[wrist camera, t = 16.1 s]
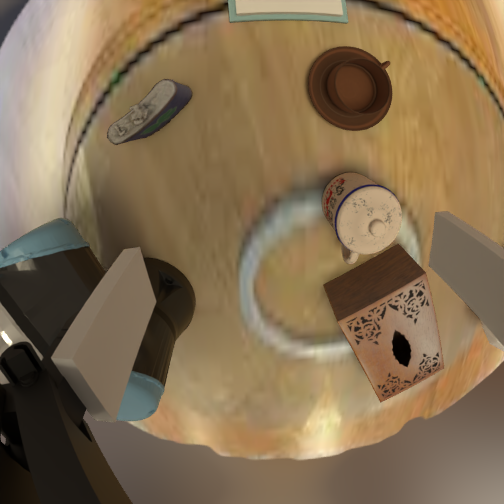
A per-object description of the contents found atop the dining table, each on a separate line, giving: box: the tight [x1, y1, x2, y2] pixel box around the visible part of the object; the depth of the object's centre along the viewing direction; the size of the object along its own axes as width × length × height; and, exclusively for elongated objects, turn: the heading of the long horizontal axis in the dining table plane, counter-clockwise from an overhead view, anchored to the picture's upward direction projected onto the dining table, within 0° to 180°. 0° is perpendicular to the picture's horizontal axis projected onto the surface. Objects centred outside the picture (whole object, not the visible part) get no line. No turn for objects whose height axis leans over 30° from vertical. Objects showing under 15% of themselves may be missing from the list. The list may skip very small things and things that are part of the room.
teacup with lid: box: [322, 173, 402, 264], centre depth 38 cm, size 12×9×12 cm
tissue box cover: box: [323, 244, 444, 402], centre depth 48 cm, size 26×14×10 cm, turn 31°
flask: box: [107, 79, 192, 145], centre depth 32 cm, size 10×3×12 cm, turn 126°
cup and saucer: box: [308, 46, 392, 131], centre depth 33 cm, size 12×12×6 cm
